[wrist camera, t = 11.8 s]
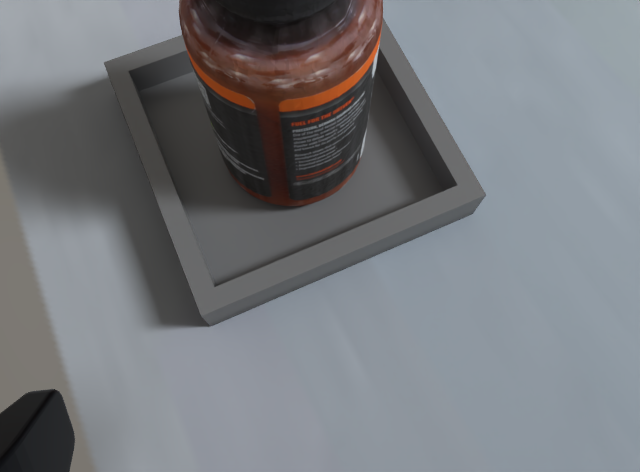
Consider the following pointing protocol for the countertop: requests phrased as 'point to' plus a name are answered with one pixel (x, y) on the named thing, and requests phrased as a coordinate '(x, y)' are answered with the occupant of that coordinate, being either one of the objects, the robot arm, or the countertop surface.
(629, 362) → the countertop surface
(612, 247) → the countertop surface
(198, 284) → the grey square tray
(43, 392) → the robot arm
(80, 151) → the countertop surface
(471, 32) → the countertop surface
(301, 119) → the supplement bottle
